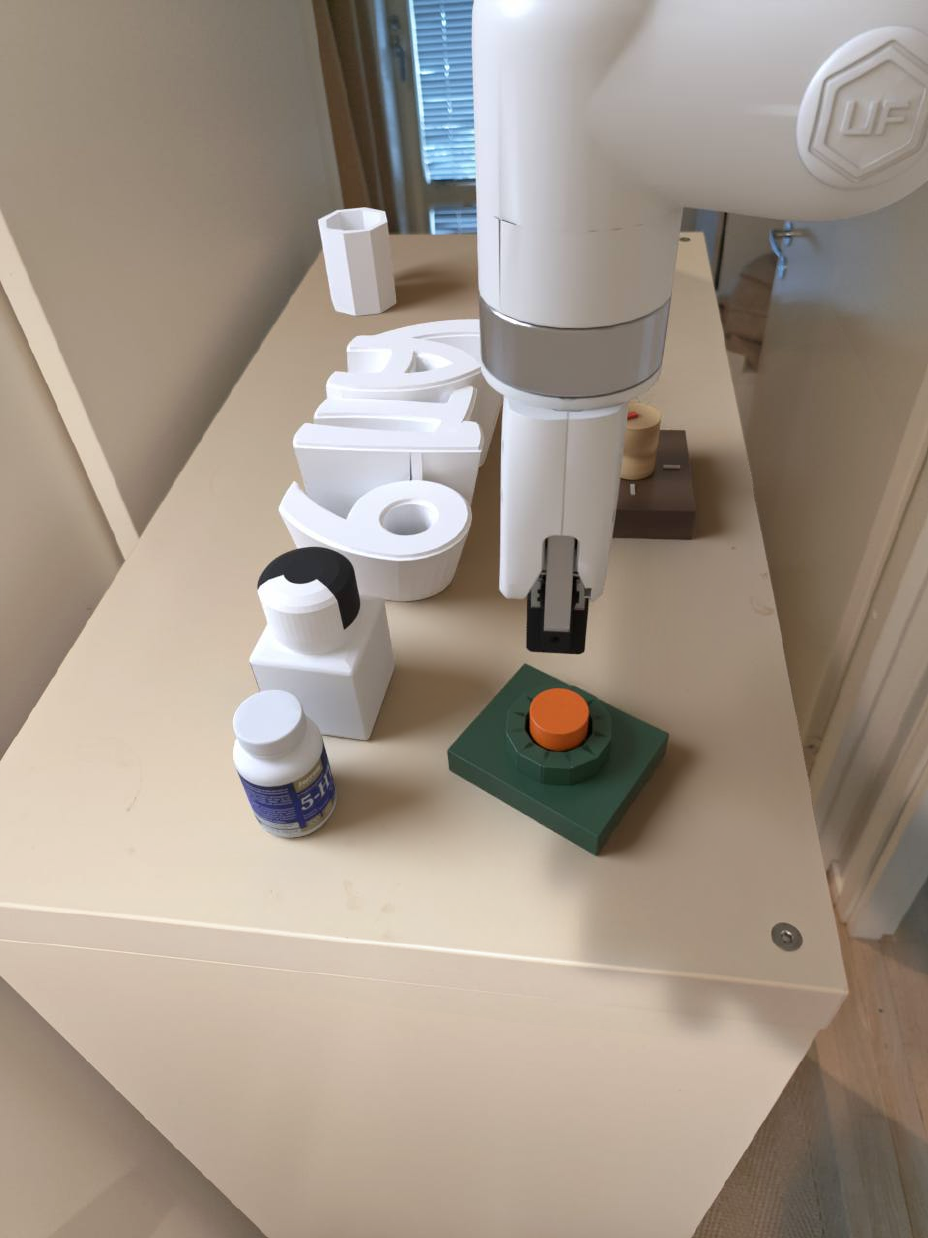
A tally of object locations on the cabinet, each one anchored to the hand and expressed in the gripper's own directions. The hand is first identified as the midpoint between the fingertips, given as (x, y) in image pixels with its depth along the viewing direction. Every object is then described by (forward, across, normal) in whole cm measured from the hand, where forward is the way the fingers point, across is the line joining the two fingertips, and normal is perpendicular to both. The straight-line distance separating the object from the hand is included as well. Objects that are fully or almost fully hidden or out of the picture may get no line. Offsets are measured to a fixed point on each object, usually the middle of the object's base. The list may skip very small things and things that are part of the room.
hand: (555, 642), depth 47 cm
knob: (+8, -29, +6) cm, 31 cm away
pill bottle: (+12, +4, -16) cm, 20 cm away
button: (+8, 0, 0) cm, 8 cm away
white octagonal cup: (+12, -71, -26) cm, 76 cm away
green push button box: (+11, 0, 0) cm, 11 cm away
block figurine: (+12, -5, -15) cm, 20 cm away
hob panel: (+11, -29, +6) cm, 32 cm away
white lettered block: (+12, -29, -13) cm, 34 cm away
